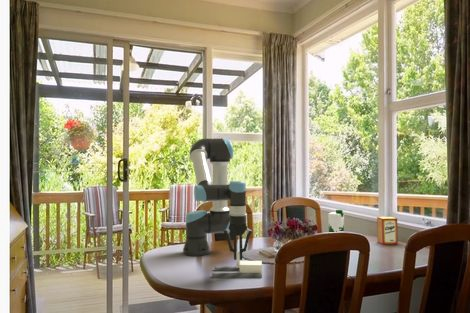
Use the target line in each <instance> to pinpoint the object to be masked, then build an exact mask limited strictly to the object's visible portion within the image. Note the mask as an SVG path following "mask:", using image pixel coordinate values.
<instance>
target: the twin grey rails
mask: <svg viewBox="0 0 470 313" xmlns="http://www.w3.org/2000/svg"><path fill="white" fill-rule="evenodd" d="M214 271H215V272H212V273H211V277H212V278H218V279H219V278H222V279H223V278H228V279H229V278H230V279H231V278H233V279H234V278H235V279H236V278H239V279H240V278H242V279H243V278H247V279H249V278H250V279H251V278H253V279H256V278H257V279H258V278H260V279H261V278H263V272H262V273H240V269H239V268H237V265H235V266H232V265H231V266H230V265H229V266H228V265H227V266H225V265H224V266H223V265H221V266H220V265H218V266H217V265H216V266H214ZM216 271H217V272H216ZM228 271H229V272H228Z"/></svg>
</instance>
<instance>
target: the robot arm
mask: <svg viewBox="0 0 470 313" xmlns="http://www.w3.org/2000/svg"><path fill="white" fill-rule="evenodd" d="M233 157H234V148H233V144H232V141H231V140H230V139H229V138H222V137H221V138H201V139H198V140H197V141H195V142H194V143H193V144H192V146H191V148H190V150H189V159H190V161H191V162H192V166H193V171H194V176H195V180H196V185H195V186H194V188H193V195H194V196H193V197H194V200H195V201H196V202H212V207H211V208H209V212H207V211H206V210H195V211H194V210H193V211H190V212H188V213H187V214H186V216H185V242H184V245H183V248H182V254H183V255H184V254H185V255H184V256H190V257H200V256H206V255H208V254H210V253H211V248H210V245H209V242H208V238H207V236H208V234H224V235H225V237H226V241H227V244H228V248H229V252H232V253H233V260H234V261H236V266H237V268H239V265H240V261H243V253H244V252H246V251H247V248H248V245H249V239H250V236H251V234H252V233H253V232H252V231H253V230H252V229H250V228H248V225H247V216H246V214H247V202H246V201H247V195H246V194H247V188H246V182H245V181H244V180H243V181H242V180H234V181H233V180H232V181H229V183H228V165H229V164H230V163H231V160H232V159H233ZM208 160H209V163H210V164H211V165H212V174H211V171H210V168H209V163H208ZM211 175H212V176H211ZM228 201H229V205H228ZM230 233H231V234H232V235H233V244H232V240H231V235H230ZM245 233H246V237H245V240H244V246H243V235H244V234H245ZM237 238H239V239H237ZM238 240H239V248H238V247H237V246H238V245H237V243H238ZM237 249H239V251H238V250H237Z"/></svg>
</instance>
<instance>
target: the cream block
mask: <svg viewBox="0 0 470 313" xmlns="http://www.w3.org/2000/svg"><path fill="white" fill-rule="evenodd" d="M239 269H240V271H239V273H262V274H263V261H262V260H240V265H239Z"/></svg>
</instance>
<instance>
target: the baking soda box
mask: <svg viewBox="0 0 470 313" xmlns="http://www.w3.org/2000/svg"><path fill="white" fill-rule="evenodd" d="M376 220H377V221H376V224H377V225H376V227H377V228H376V230H377V243H378V244H381V245H398V244H399V241H398V237H399V236H398V218H396V217H394V216H377V217H376Z"/></svg>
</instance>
